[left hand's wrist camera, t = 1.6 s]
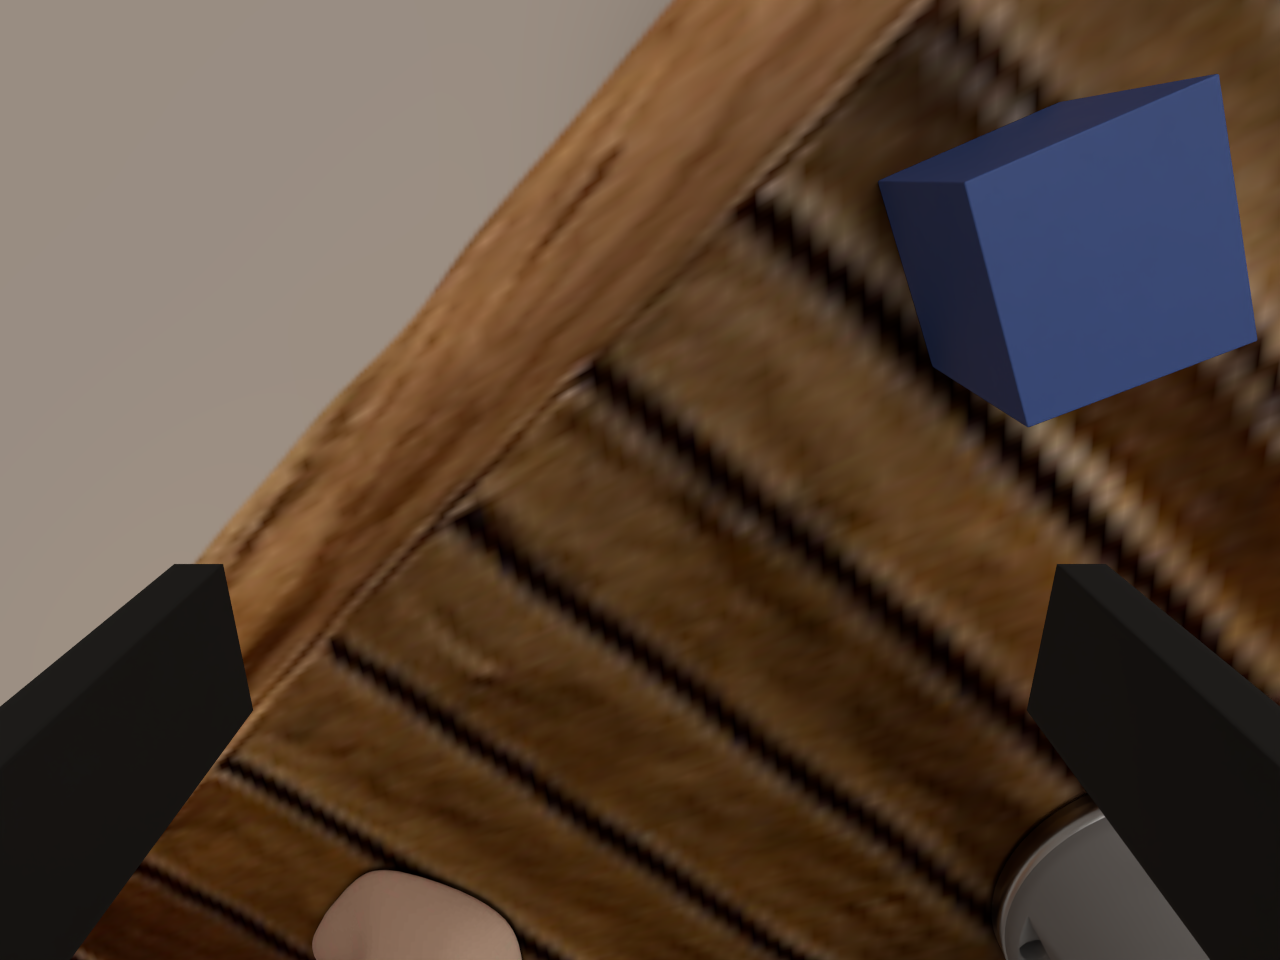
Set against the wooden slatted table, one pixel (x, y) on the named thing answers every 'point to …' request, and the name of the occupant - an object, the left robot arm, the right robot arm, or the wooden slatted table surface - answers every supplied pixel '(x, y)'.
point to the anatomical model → (411, 923)
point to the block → (1078, 249)
